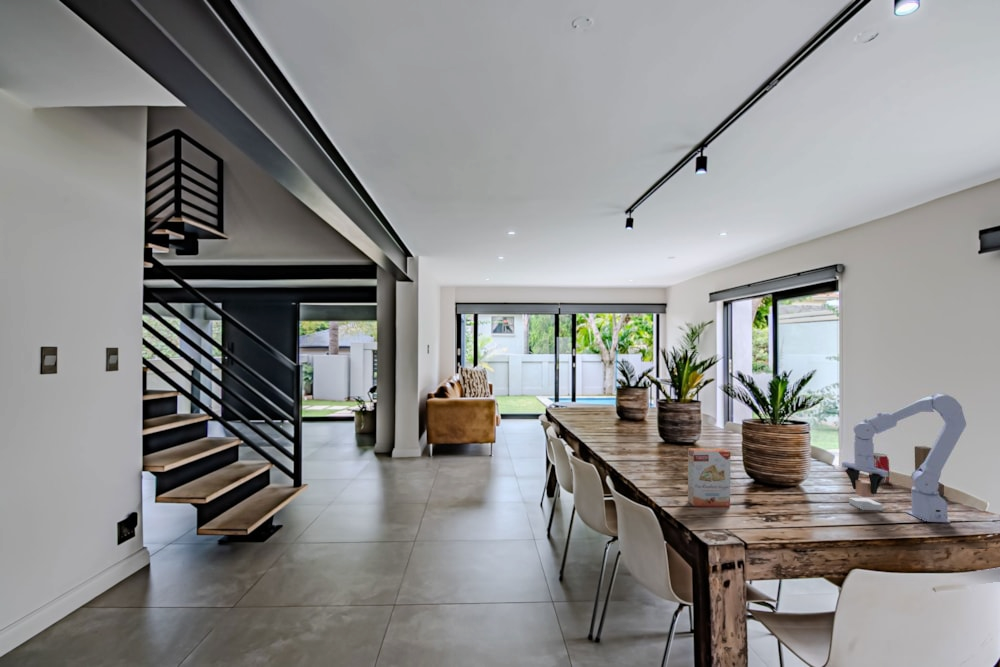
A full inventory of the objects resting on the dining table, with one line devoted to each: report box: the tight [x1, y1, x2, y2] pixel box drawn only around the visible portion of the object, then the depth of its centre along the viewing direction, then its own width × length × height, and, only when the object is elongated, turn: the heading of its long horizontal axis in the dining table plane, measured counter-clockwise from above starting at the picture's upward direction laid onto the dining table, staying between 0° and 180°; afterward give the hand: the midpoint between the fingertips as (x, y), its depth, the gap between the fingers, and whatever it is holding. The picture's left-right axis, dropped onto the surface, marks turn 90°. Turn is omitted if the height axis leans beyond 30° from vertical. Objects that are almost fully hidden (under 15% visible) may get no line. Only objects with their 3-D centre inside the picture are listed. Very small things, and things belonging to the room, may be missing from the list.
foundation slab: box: [848, 497, 883, 511], centre depth 174 cm, size 7×7×2 cm
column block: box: [854, 479, 875, 498], centre depth 174 cm, size 4×4×5 cm
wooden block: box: [914, 445, 945, 497], centre depth 191 cm, size 9×4×18 cm, turn 174°
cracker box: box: [687, 447, 731, 508], centre depth 176 cm, size 14×6×21 cm, turn 89°
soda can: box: [868, 452, 890, 484], centre depth 206 cm, size 7×7×12 cm
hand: (864, 491), depth 174 cm, fingers closed on column block, 5 cm apart
